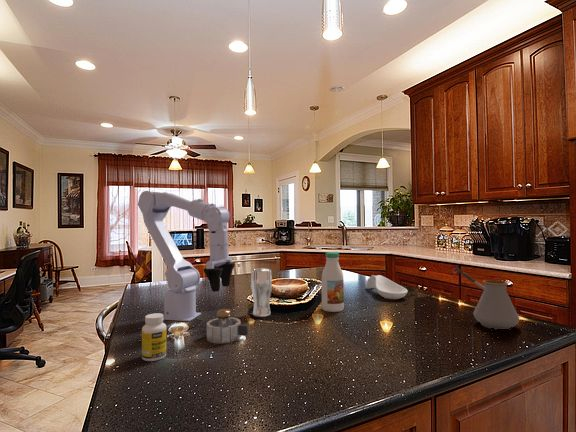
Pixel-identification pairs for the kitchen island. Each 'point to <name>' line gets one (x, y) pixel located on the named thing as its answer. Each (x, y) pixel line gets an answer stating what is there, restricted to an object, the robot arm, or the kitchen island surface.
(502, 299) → the coffee pot
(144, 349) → the supplement bottle
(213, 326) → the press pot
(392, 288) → the spoon rest
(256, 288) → the beer glass
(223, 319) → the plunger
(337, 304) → the milk bottle
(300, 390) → the kitchen island surface
